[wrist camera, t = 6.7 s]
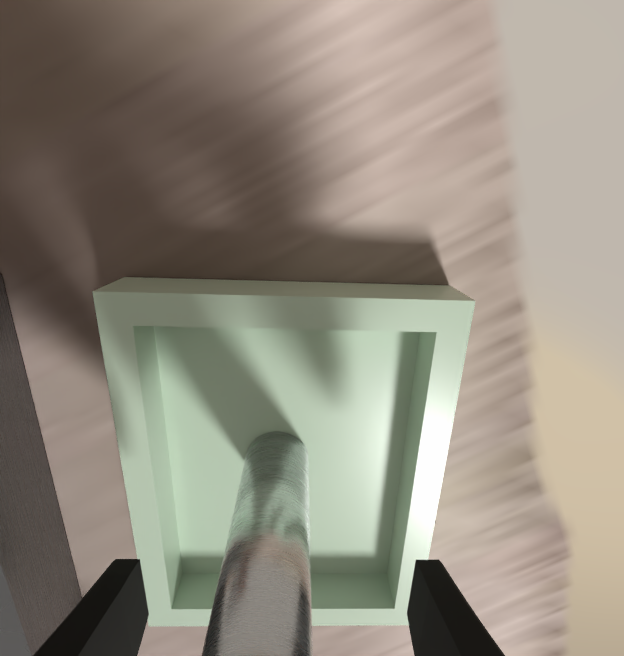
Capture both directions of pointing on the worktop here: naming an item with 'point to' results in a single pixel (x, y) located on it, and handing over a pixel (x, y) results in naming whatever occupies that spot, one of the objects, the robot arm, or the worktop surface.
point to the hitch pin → (266, 557)
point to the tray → (283, 426)
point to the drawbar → (27, 515)
